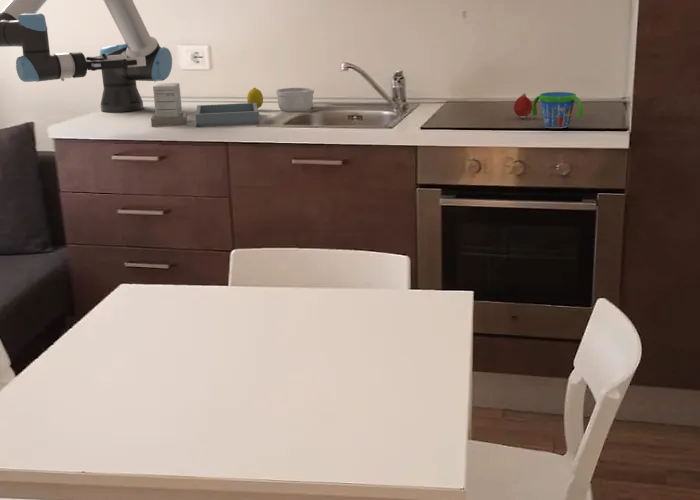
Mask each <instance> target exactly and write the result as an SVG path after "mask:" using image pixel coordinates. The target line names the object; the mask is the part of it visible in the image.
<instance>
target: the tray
mask: <svg viewBox="0 0 700 500" xmlns="http://www.w3.org/2000/svg"><path fill="white" fill-rule="evenodd" d="M259 112H260V111H259V108H257V104H256V103H248V102H246V103H245V102H243V103H223V104H221V103H219V104H218V103H217V104H201V105H199V104H198V105H197V106H196V110H195V123H196V125H195V126H196V128H204V127H205V126H209V127H225V126H228V127H229V126H242V125H243V126H244V125H245V126H247V125H260V114H259ZM205 128H206V127H205Z"/></svg>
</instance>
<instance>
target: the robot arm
mask: <svg viewBox="0 0 700 500" xmlns="http://www.w3.org/2000/svg"><path fill="white" fill-rule="evenodd" d="M47 1H48V0H10V1H9V2H8V4H6V6H5V7H3V9H2V10H1V11H0V47H3V48H4V47H21V48H22V55H21V56H18V57H17V58H16V60H15V64H16V65H15V70H16V73H17V76H18V78H19V79H20V81H22V82H24V83H28V82H29V83H32V82H33V83H34V82H36V83H39V82H44V81H45V82H47V81H54V80H61V81H62V82H64V81H65V79H71V78H73V79H75V78H76V79H78V78H84V77H86V75H87V73H88V71H93V72H95V71H101V76H102V84H103V90H102V96H101V100H100V111H102V112H105V113H124V112H132V111H133V112H134V111H139V110H142V109H144V101H143V99H142V96H141V94H140V92H139V90H138V87H137V86H138V85H137V81H140V82H141V81H142V82H143V81H144V82H154V83H155V82H163V81H165V80H166V79H168V78H169V76H170V74H171V71H172V68H173V66H172V65H173V57H172V53H171V51H170V49H169V48H167V47H165V46H164V47H163V46H162V47H161V46H160V44H159V42H158V39H156V38H155V37H154V36H151V35H150V32H149V31H148V30H147V29H148V28H147V27H146V25H145V23H144V21H143V19H142V16H141V14H140V13H139V11H138V9H137V7H136V5H135V3H134V0H103V1H104V4H105V6H106V9H108V12H109V13H110V15H111V18H112V19H113V21H114V23H115V25H116V27H117V29H118V31H119V33H120V35H121V37H122V38H123V40H124V42H125V43H121V44H116V45H115V44H114V45H109V46H104V47H103V46H102V47H100V51H99V55H98V56H87V57H86V56H85V54H84V53H83V52H82V51H77V52H76V51H74V52H69V53H67V52H61V53H59V52H58V53H51V52H50V43H49V35H48V34H49V31H48V26H47V22H46V16H45V14H43V13H41V12H39V13H38V11H39V10H40V9H41V8H42V6H44V5H45V4H46V2H47Z"/></svg>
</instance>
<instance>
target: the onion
mask: <svg viewBox="0 0 700 500" xmlns="http://www.w3.org/2000/svg"><path fill="white" fill-rule="evenodd" d="M532 106H533V103H532V101H531V99H529V97H527V95H526V93H522V95H521V96H519V97H518V98H517V99H516V100H515V102H514V104H513V112H514V114H516V116H518V117H519V116H526V117H528V116H529V115H530V114H531V113H532Z"/></svg>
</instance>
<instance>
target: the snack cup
mask: <svg viewBox="0 0 700 500" xmlns="http://www.w3.org/2000/svg"><path fill="white" fill-rule="evenodd" d="M539 101H540V106H541V108H540V109H541V117H542V123H543V127H544V126H547V127H564V126H568V125H571V121H572V116H573V110H574V103H575V102H576V103H577V107H578V111H577V117H576V118H577V120H580V119H582V117H583V115H584V108H583V104H582V100H581V99H580V97H578V96H577V95H576V93H574V92H567V91H565V92H564V91H554V92H553V91H552V92H549V91H548V92H543V93H542V92H541V93H540V94H539V95H538V96H536V97H535V98H534V100H533V103H532V111H531V113H532V115H533V116H536V115H538V108H537V103H538V102H539Z"/></svg>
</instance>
